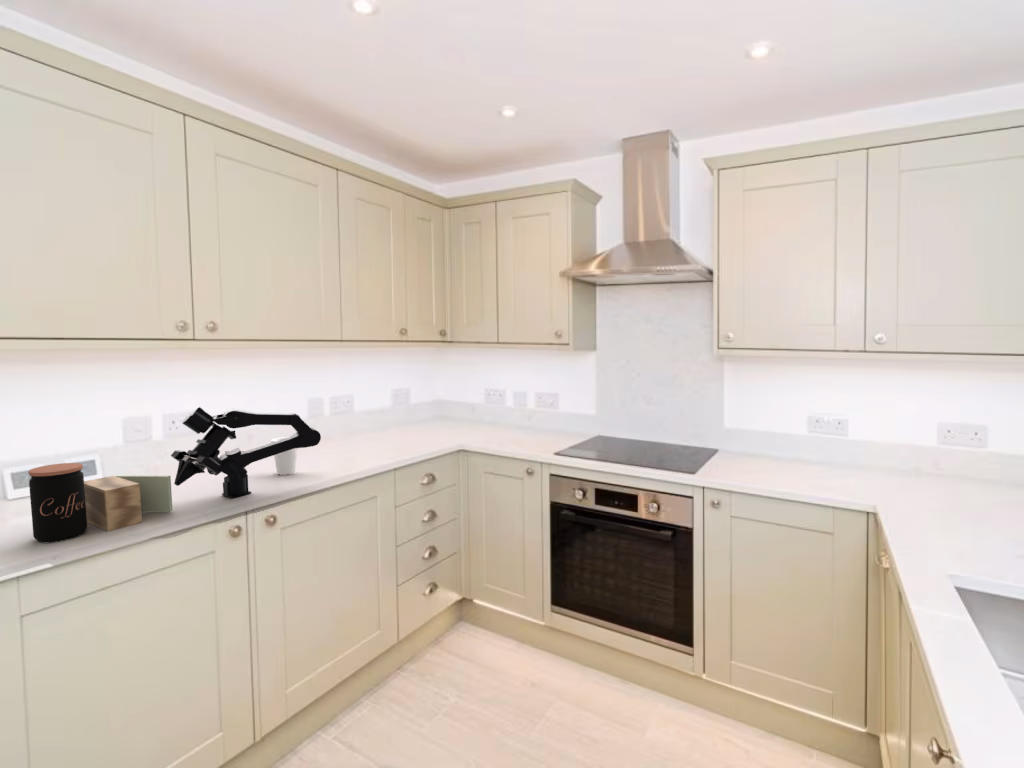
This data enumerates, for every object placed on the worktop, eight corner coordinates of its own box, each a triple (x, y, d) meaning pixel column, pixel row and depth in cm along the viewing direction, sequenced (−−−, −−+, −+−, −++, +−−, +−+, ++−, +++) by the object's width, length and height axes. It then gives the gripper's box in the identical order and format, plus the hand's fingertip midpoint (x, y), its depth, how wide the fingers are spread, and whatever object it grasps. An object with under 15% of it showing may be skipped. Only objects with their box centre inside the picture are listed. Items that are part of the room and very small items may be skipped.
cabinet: (115, 512, 155) (113, 475, 154) (141, 522, 147) (139, 483, 146) (82, 520, 148) (79, 482, 147) (108, 531, 140) (105, 490, 139)
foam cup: (283, 469, 206) (282, 436, 205) (304, 470, 204) (303, 437, 203) (267, 475, 197) (265, 441, 196) (289, 476, 195) (288, 442, 194)
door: (121, 508, 157) (118, 474, 156) (175, 509, 157) (173, 474, 156) (115, 511, 155) (112, 476, 154) (169, 512, 154) (167, 476, 153)
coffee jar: (37, 547, 129) (31, 475, 128) (30, 536, 136) (25, 468, 135) (91, 535, 137) (86, 467, 136) (83, 525, 144) (78, 460, 143)
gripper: (246, 460, 167) (213, 503, 159) (214, 453, 177) (181, 493, 169) (220, 439, 160) (184, 484, 152) (188, 434, 170) (152, 475, 161)
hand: (176, 484), depth 158 cm, fingers closed
